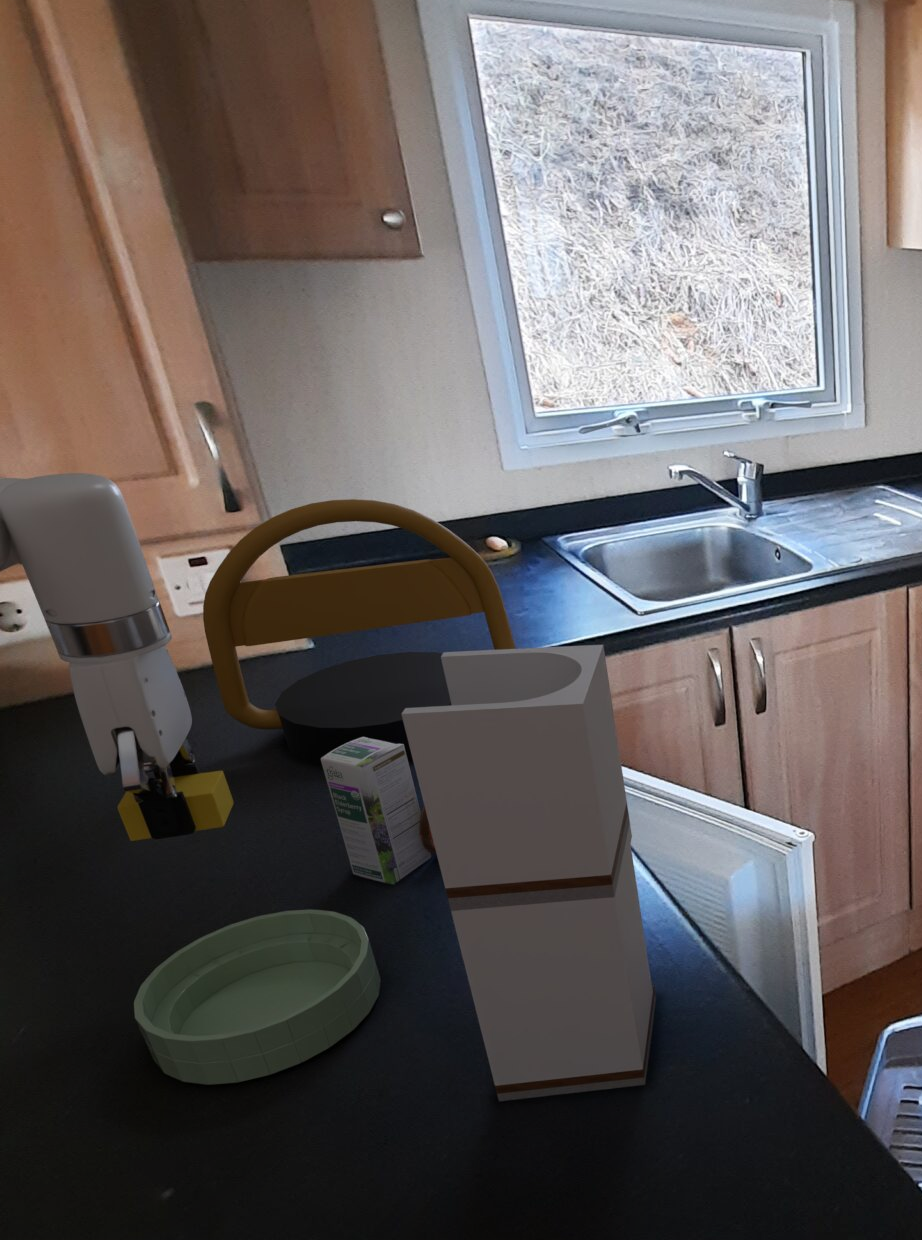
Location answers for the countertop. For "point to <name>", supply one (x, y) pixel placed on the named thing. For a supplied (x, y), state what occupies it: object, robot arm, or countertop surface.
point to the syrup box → (376, 808)
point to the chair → (345, 627)
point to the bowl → (258, 996)
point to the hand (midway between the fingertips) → (181, 818)
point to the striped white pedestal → (539, 866)
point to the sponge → (203, 799)
